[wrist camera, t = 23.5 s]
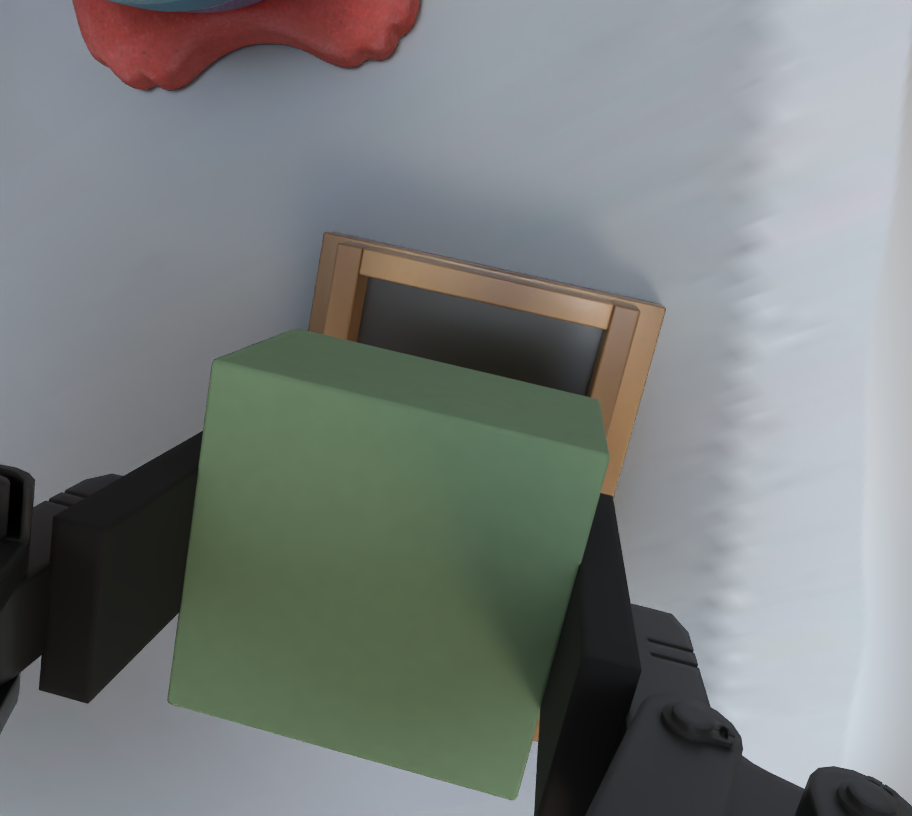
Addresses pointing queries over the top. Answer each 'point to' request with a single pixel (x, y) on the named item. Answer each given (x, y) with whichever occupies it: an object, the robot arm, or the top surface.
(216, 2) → the stacking bear
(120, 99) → the top surface
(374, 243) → the frame
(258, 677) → the sage block
